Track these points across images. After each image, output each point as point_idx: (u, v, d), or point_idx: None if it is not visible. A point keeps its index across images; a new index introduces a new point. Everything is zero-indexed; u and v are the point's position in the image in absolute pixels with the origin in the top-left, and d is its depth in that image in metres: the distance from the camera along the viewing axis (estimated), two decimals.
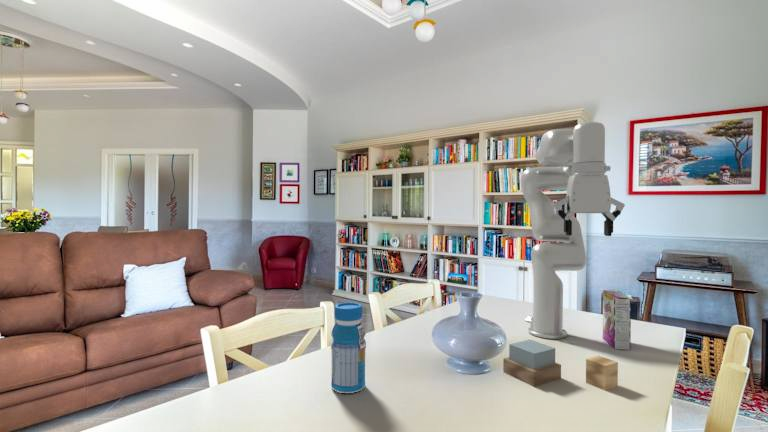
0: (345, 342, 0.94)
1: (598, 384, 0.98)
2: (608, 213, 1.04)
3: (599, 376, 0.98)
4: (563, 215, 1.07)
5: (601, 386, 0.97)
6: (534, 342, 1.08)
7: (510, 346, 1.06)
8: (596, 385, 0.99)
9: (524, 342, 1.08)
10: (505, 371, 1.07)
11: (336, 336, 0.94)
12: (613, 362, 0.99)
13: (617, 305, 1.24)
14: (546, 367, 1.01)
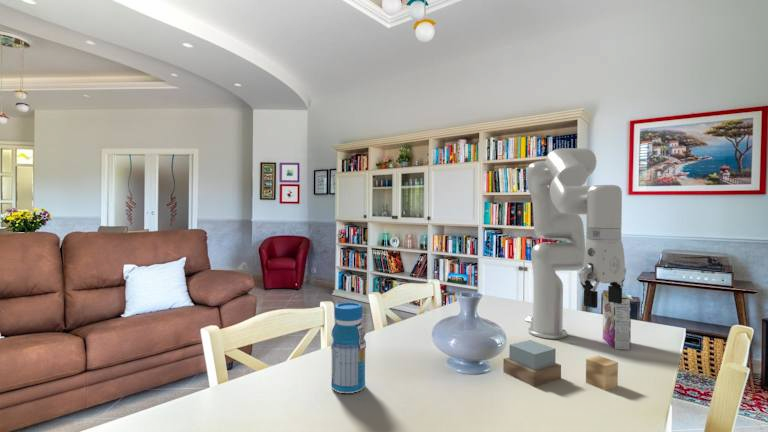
0: (345, 342, 0.94)
1: (598, 385, 0.98)
2: None
3: (599, 376, 0.98)
4: None
5: (601, 386, 0.97)
6: (534, 342, 1.08)
7: (510, 346, 1.06)
8: (596, 385, 0.99)
9: (524, 342, 1.08)
10: (505, 371, 1.07)
11: (336, 336, 0.94)
12: (613, 362, 0.99)
13: (617, 305, 1.24)
14: (546, 367, 1.01)
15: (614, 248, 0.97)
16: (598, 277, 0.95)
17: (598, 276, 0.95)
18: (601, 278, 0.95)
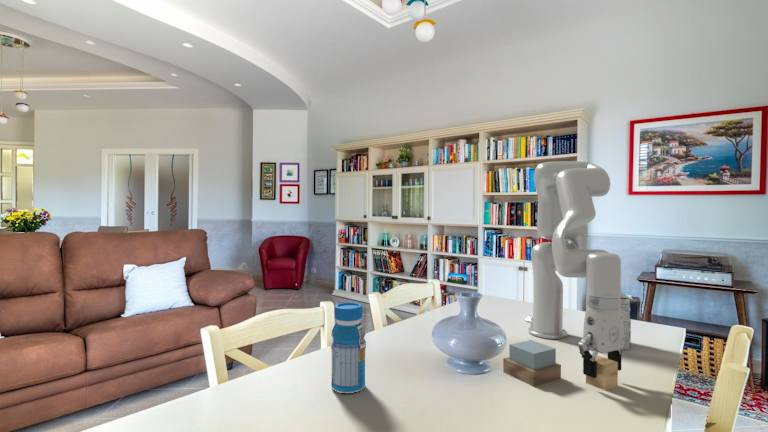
0: (345, 342, 0.94)
1: (598, 384, 0.98)
2: None
3: (599, 376, 0.98)
4: None
5: (601, 386, 0.97)
6: (534, 342, 1.08)
7: (510, 346, 1.06)
8: (596, 385, 0.99)
9: (524, 342, 1.08)
10: (505, 371, 1.07)
11: (336, 336, 0.94)
12: (613, 362, 0.99)
13: None
14: (546, 367, 1.01)
15: (613, 318, 0.97)
16: (597, 348, 0.95)
17: (597, 346, 0.95)
18: (600, 349, 0.95)
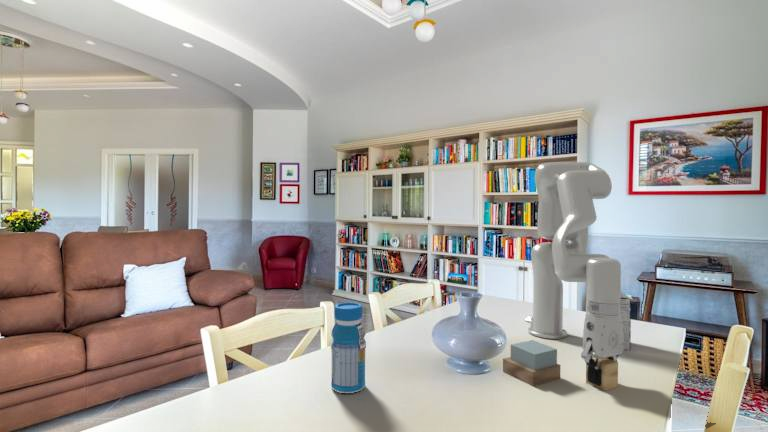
0: (345, 342, 0.94)
1: None
2: None
3: None
4: None
5: (601, 386, 0.97)
6: (536, 343, 1.08)
7: (511, 346, 1.06)
8: (596, 385, 0.99)
9: (526, 343, 1.08)
10: (504, 371, 1.07)
11: (336, 336, 0.94)
12: (613, 362, 0.99)
13: None
14: None
15: (613, 323, 0.97)
16: (597, 353, 0.96)
17: (597, 351, 0.96)
18: (600, 354, 0.95)
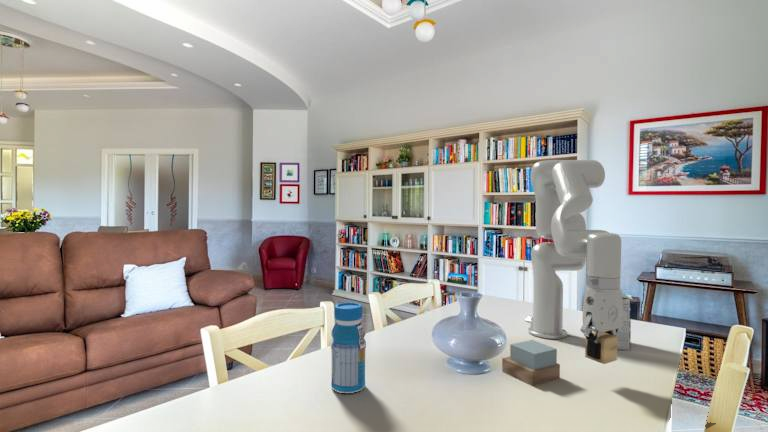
0: (345, 342, 0.94)
1: None
2: None
3: None
4: None
5: (600, 359, 0.98)
6: (536, 342, 1.08)
7: (511, 346, 1.06)
8: (595, 359, 0.99)
9: (526, 342, 1.08)
10: (504, 371, 1.07)
11: (336, 336, 0.94)
12: (613, 336, 0.99)
13: None
14: (545, 367, 1.02)
15: (613, 297, 0.97)
16: (596, 327, 0.96)
17: (597, 325, 0.96)
18: (599, 328, 0.96)
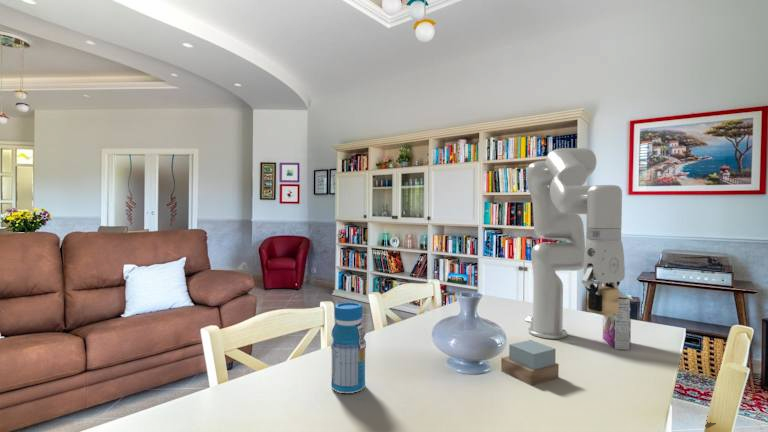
0: (345, 342, 0.94)
1: (598, 311, 0.98)
2: None
3: None
4: None
5: (602, 311, 0.97)
6: (534, 342, 1.08)
7: (510, 346, 1.06)
8: (596, 311, 0.98)
9: (524, 342, 1.08)
10: (503, 370, 1.07)
11: (336, 336, 0.94)
12: (614, 289, 0.98)
13: None
14: None
15: (614, 248, 0.97)
16: (598, 277, 0.95)
17: (598, 276, 0.96)
18: (601, 278, 0.95)
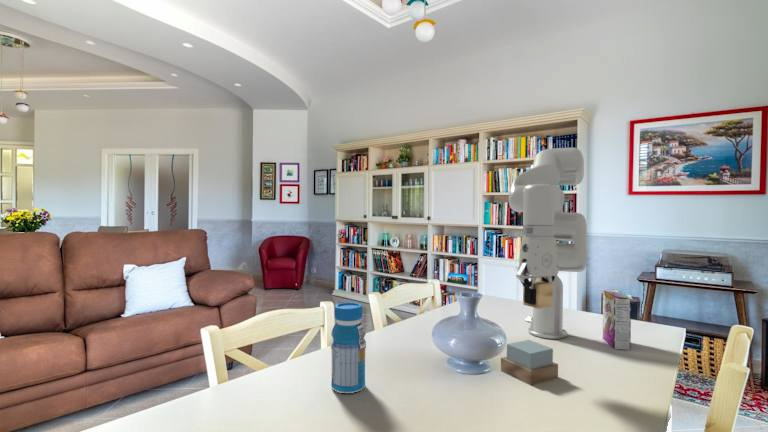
0: (345, 342, 0.94)
1: None
2: None
3: None
4: None
5: (536, 305, 1.02)
6: (532, 342, 1.08)
7: (507, 346, 1.07)
8: (531, 305, 1.03)
9: (522, 342, 1.08)
10: (502, 370, 1.07)
11: (336, 336, 0.94)
12: (548, 283, 1.03)
13: (617, 305, 1.24)
14: (543, 366, 1.02)
15: (547, 244, 1.02)
16: (531, 272, 1.00)
17: (531, 271, 1.00)
18: (533, 273, 1.00)
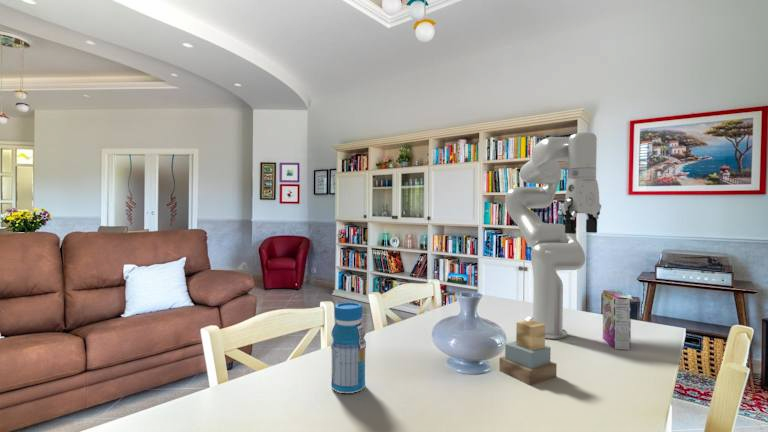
0: (345, 342, 0.94)
1: (526, 345, 1.04)
2: None
3: (527, 337, 1.03)
4: None
5: (529, 346, 1.03)
6: None
7: (506, 346, 1.07)
8: (524, 346, 1.04)
9: None
10: (501, 370, 1.07)
11: (336, 336, 0.94)
12: (541, 324, 1.04)
13: (617, 305, 1.24)
14: (542, 366, 1.02)
15: (590, 185, 1.17)
16: (576, 208, 1.16)
17: (576, 207, 1.16)
18: (579, 208, 1.15)
